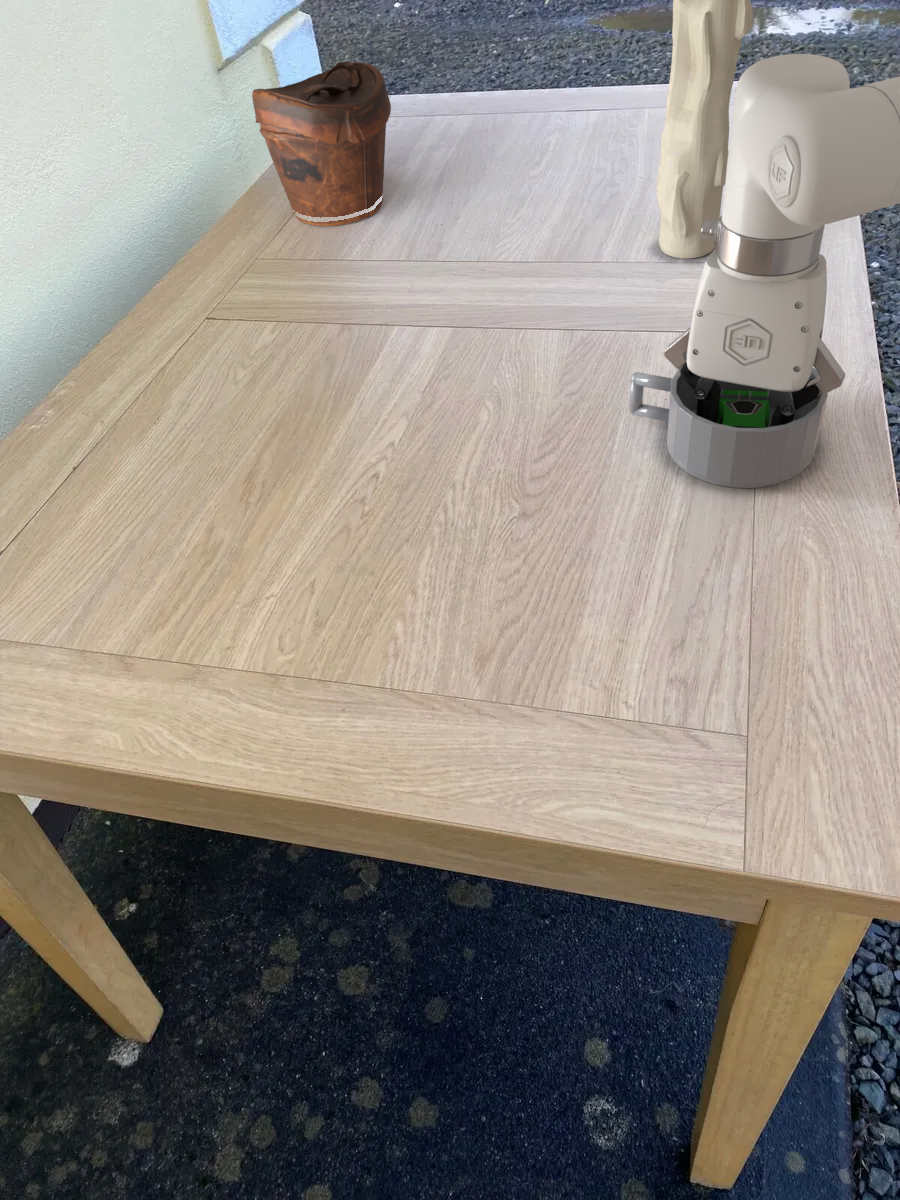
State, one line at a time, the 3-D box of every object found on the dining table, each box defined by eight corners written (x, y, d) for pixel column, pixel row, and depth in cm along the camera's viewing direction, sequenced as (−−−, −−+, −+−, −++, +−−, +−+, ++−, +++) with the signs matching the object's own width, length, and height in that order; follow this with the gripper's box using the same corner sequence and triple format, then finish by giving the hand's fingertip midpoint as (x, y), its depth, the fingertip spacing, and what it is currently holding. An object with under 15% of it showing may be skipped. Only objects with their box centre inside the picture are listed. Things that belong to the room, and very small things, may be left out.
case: (412, 176, 137) (394, 41, 124) (392, 234, 123) (369, 89, 110) (298, 184, 139) (269, 52, 127) (265, 242, 126) (229, 101, 113)
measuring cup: (829, 418, 85) (842, 361, 80) (793, 502, 77) (805, 444, 73) (652, 385, 92) (655, 331, 87) (603, 459, 84) (605, 404, 80)
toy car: (768, 475, 79) (771, 454, 78) (711, 472, 80) (714, 451, 79) (768, 410, 86) (771, 389, 84) (716, 407, 87) (718, 387, 85)
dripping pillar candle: (736, 251, 109) (773, -49, 88) (677, 272, 107) (700, -30, 86) (693, 227, 115) (718, -60, 94) (636, 246, 113) (648, -43, 92)
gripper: (645, 250, 71) (636, 440, 84) (877, 279, 64) (829, 481, 77) (676, 210, 76) (663, 397, 88) (897, 234, 69) (848, 432, 82)
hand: (741, 434), depth 83 cm, fingers closed on toy car, 5 cm apart
